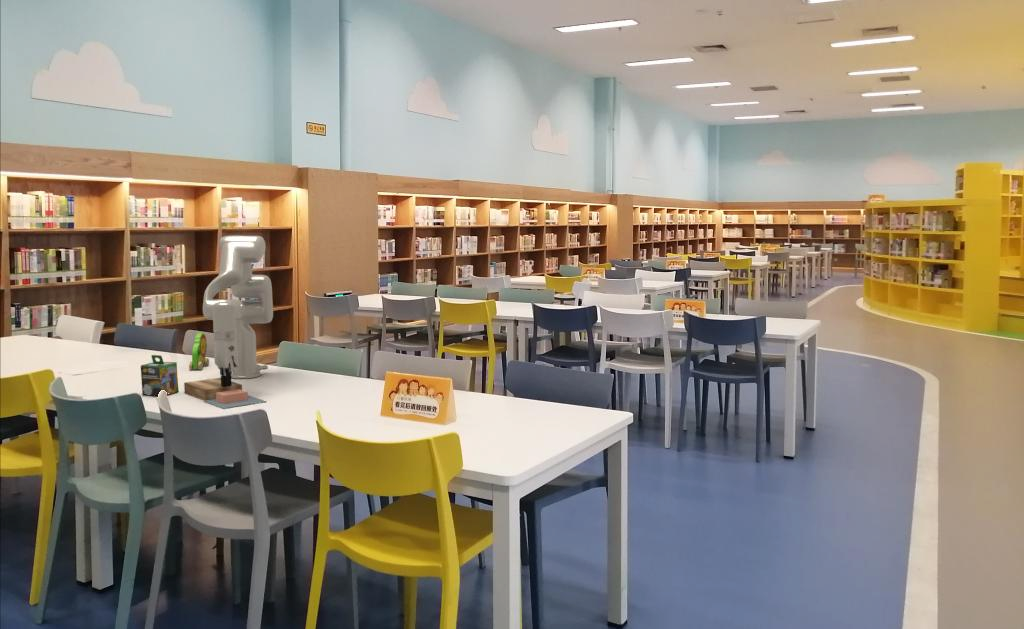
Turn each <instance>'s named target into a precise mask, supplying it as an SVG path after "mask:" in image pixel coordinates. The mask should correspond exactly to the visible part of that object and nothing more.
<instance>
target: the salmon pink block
mask: <svg viewBox="0 0 1024 629" xmlns="http://www.w3.org/2000/svg"><path fill="white" fill-rule="evenodd" d="M248 395H249V394H248V391H246V390H243V389H242V390H241V389H239V390H232V391H225V392H218V393H216V401H217V402H220V403H223V404H225V403H232V402H238V401H245V400H248Z"/></svg>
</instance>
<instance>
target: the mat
mask: <svg viewBox="0 0 1024 629" xmlns="http://www.w3.org/2000/svg"><path fill="white" fill-rule="evenodd" d="M202 401H203V403H206V404H209V405H212V406H213V407H214V406H215V407H216V408H217V407H218V408H219V409H223V410H225V409H226V410H227V409H233V408H238V407H245V406H250V404H252V405H256V404H255V403H258V404H260V403H259V402H263V401H264V399H261V398H258V397H255V396H252V395H249V394H248V400H245V401H238V402H232V403H225V404H223V403H220V402H217V401H216V399H211V400H202Z"/></svg>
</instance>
